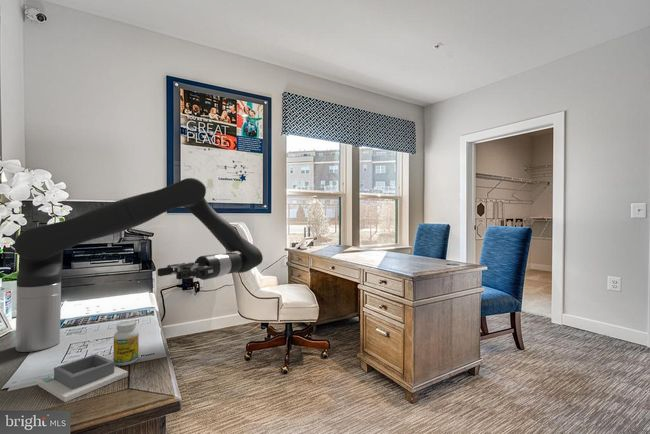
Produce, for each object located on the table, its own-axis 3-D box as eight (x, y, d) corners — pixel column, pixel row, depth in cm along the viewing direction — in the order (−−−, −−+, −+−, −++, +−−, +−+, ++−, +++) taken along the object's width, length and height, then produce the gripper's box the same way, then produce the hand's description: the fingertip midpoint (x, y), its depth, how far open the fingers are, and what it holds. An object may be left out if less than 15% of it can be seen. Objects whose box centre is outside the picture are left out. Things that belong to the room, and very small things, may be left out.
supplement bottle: (137, 354, 84) (138, 318, 84) (139, 362, 80) (139, 324, 80) (113, 359, 81) (113, 321, 81) (113, 368, 77) (113, 328, 77)
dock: (38, 385, 68) (38, 369, 68) (100, 363, 79) (100, 349, 79) (65, 402, 62) (65, 384, 62) (127, 376, 73) (128, 360, 73)
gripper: (198, 253, 107) (152, 259, 93) (229, 256, 100) (183, 262, 86) (198, 275, 107) (152, 284, 93) (229, 279, 100) (183, 290, 86)
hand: (167, 274), depth 90 cm, fingers open, 8 cm apart
